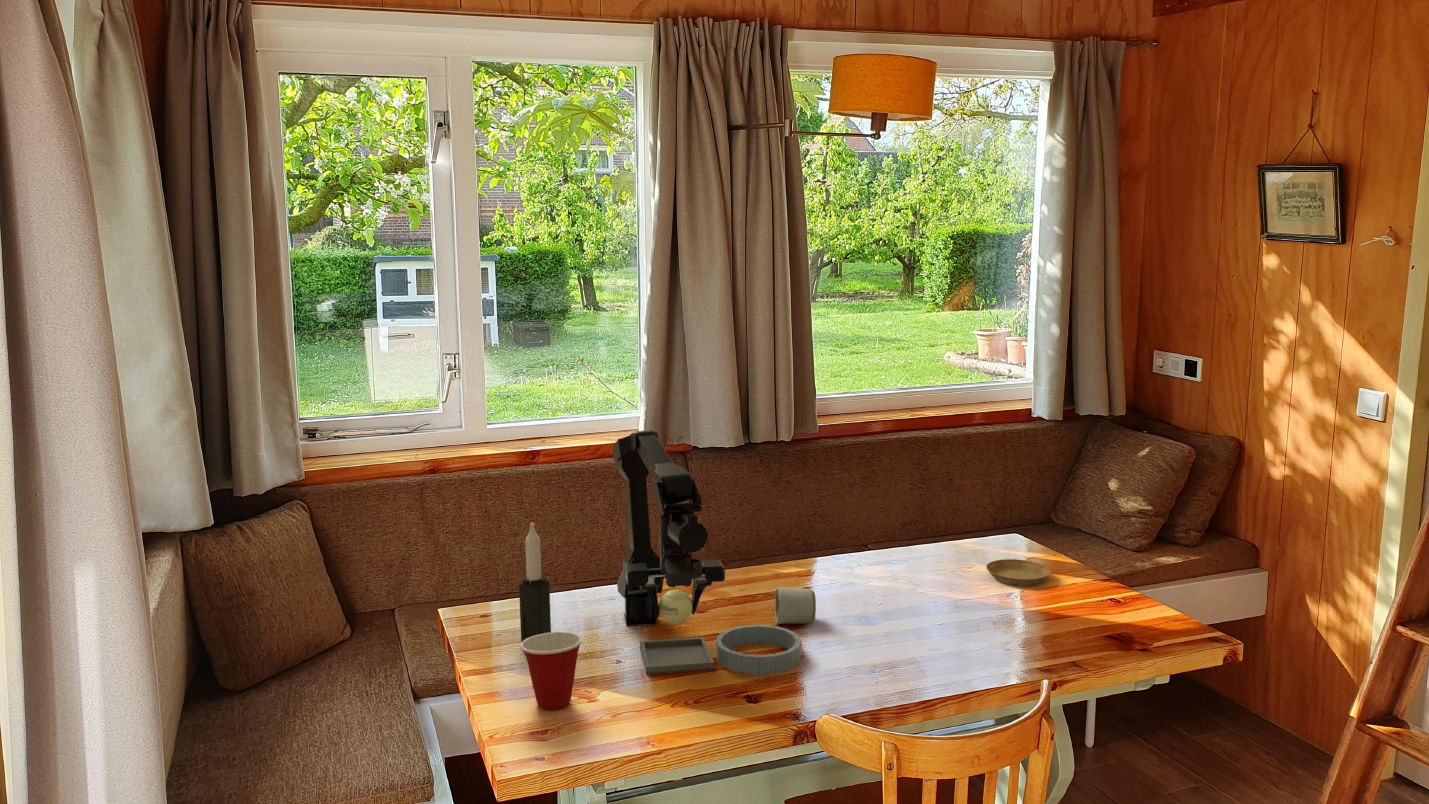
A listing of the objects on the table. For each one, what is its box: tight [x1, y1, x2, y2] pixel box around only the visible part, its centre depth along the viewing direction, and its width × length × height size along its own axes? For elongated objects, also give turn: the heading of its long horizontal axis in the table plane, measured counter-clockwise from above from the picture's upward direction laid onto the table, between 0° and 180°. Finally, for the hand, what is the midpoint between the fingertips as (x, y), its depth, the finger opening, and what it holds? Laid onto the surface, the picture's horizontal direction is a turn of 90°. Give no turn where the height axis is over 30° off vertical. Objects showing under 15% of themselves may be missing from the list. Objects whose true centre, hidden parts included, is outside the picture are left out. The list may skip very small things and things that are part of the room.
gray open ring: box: [715, 624, 802, 676], centre depth 214 cm, size 16×16×4 cm
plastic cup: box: [520, 631, 583, 712], centre depth 194 cm, size 11×11×12 cm
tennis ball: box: [658, 589, 692, 625], centre depth 212 cm, size 6×7×7 cm
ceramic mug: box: [774, 586, 817, 625], centre depth 234 cm, size 11×8×8 cm
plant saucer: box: [985, 558, 1052, 587], centre depth 260 cm, size 15×15×3 cm
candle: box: [518, 521, 552, 643], centre depth 221 cm, size 5×5×25 cm
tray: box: [639, 636, 715, 676], centre depth 214 cm, size 13×13×2 cm
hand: (675, 614), depth 213 cm, fingers closed on tennis ball, 6 cm apart
